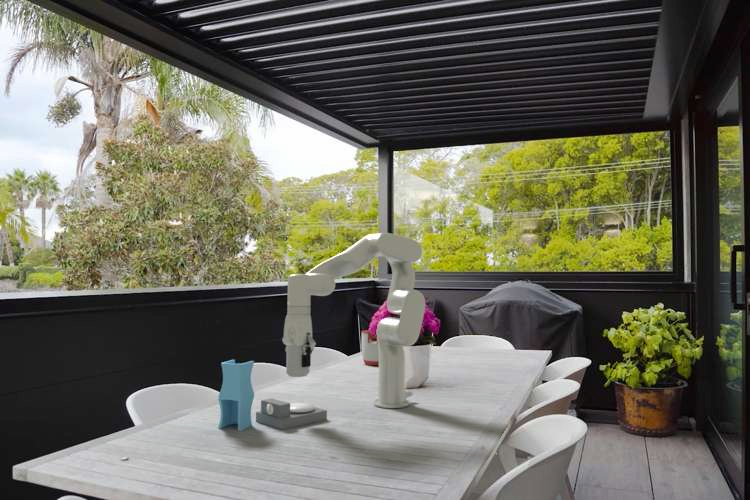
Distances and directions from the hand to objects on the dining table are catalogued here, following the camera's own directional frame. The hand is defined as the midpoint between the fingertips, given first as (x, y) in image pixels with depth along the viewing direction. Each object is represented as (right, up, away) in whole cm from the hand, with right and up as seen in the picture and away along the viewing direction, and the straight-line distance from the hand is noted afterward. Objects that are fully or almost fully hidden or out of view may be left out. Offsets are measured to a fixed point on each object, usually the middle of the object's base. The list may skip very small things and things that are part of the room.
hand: (298, 364), depth 199 cm
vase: (-18, -17, -10) cm, 27 cm away
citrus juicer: (+26, -22, +114) cm, 119 cm away
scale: (-2, -18, -2) cm, 18 cm away
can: (0, -4, 0) cm, 4 cm away
